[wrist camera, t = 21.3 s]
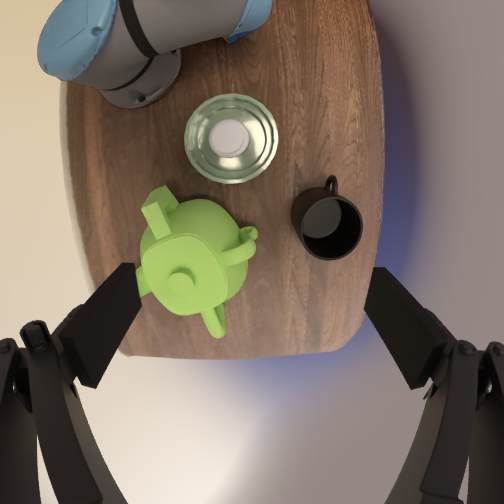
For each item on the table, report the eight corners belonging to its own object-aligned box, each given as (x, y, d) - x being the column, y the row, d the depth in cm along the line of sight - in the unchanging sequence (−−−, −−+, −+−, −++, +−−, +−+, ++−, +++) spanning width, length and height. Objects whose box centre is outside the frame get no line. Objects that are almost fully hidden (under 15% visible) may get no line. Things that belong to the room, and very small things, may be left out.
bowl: (177, 155, 41) (168, 156, 36) (219, 86, 37) (215, 78, 32) (246, 194, 44) (246, 200, 39) (289, 126, 40) (295, 123, 35)
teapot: (269, 220, 45) (277, 252, 32) (223, 311, 52) (216, 363, 39) (167, 176, 42) (132, 190, 29) (135, 274, 49) (103, 315, 35)
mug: (350, 177, 43) (372, 185, 34) (337, 243, 47) (354, 264, 39) (297, 167, 42) (309, 172, 34) (286, 237, 46) (294, 257, 38)
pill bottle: (254, 150, 40) (256, 150, 31) (222, 162, 41) (214, 165, 32) (242, 119, 38) (240, 110, 29) (210, 131, 39) (199, 126, 30)
